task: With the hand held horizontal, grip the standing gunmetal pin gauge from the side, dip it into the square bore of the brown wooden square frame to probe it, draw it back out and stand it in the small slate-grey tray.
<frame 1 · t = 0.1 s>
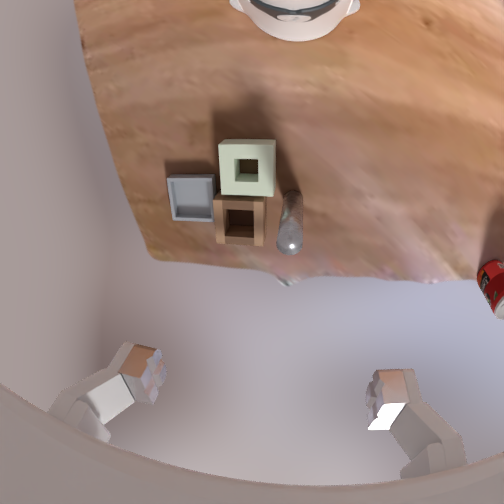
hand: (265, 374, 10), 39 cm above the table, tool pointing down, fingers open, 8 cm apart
sage block: (250, 163, 45), on the table
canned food: (489, 272, 48), on the table
tray: (194, 195, 50), on the table
brown wooden square frame: (243, 212, 50), on the table
pin gauge: (293, 199, 47), on the table
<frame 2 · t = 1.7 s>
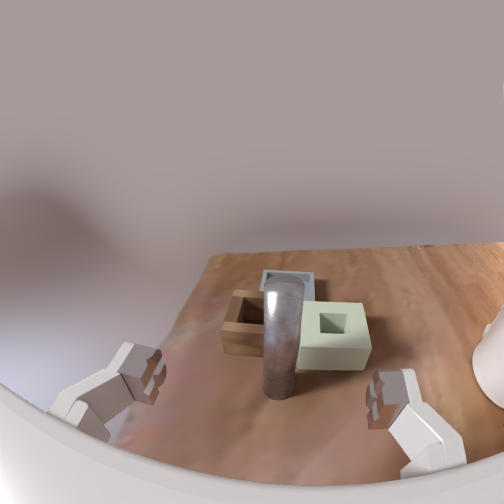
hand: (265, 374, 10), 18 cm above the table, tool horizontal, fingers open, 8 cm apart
sage block: (329, 346, 34), on the table
tray: (287, 296, 44), on the table
brown wooden square frame: (260, 333, 37), on the table
pin gauge: (277, 388, 29), on the table
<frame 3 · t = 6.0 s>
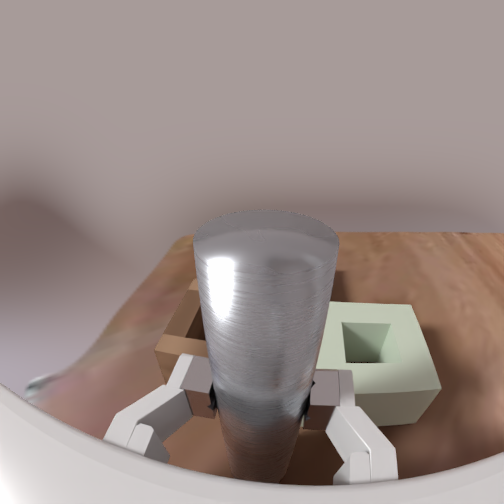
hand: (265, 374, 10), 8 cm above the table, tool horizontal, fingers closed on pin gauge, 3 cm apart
sage block: (356, 380, 18), on the table
brown wooden square frame: (235, 356, 21), on the table
pin gauge: (258, 465, 13), on the table, touching gripper
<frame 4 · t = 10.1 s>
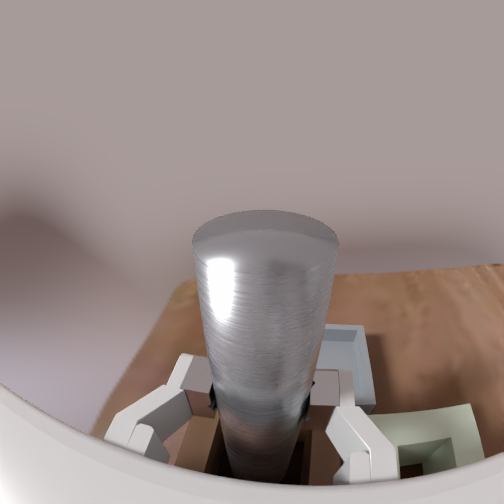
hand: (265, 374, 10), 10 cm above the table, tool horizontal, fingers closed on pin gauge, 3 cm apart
sage block: (400, 489, 11), on the table
tray: (313, 375, 21), on the table
brown wooden square frame: (260, 472, 14), on the table
pin gauge: (259, 465, 13), point 2 cm above the table, touching gripper
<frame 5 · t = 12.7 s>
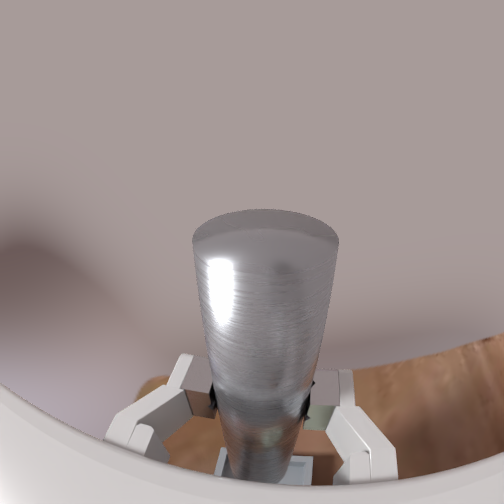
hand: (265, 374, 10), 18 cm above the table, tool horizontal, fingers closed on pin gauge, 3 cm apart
tray: (259, 497, 18), on the table
pin gauge: (259, 465, 13), point 10 cm above the table, touching gripper
when the fingers open (10 cm above the table, at t = 14.6 s): pin gauge drops 1 cm, resting on tray.
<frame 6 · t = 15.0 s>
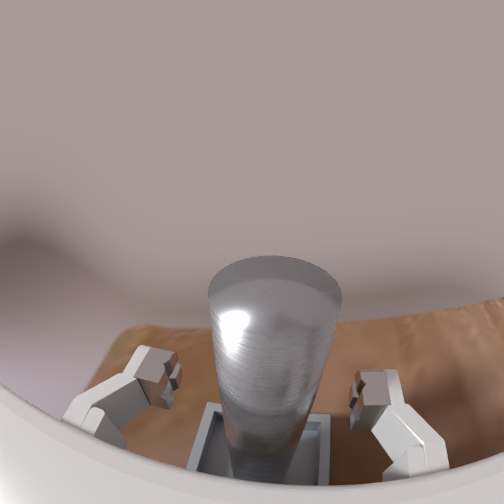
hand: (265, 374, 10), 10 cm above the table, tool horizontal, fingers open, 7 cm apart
tray: (258, 474, 14), on the table
pin gauge: (259, 471, 14), point 1 cm above the table, touching tray
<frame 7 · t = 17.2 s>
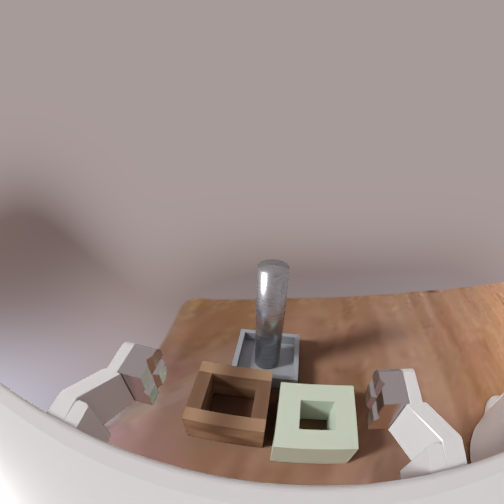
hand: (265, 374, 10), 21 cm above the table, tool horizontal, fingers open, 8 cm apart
sage block: (310, 432, 27), on the table
tray: (266, 363, 36), on the table
brown wooden square frame: (231, 413, 29), on the table
pin gauge: (266, 360, 36), point 1 cm above the table, touching tray
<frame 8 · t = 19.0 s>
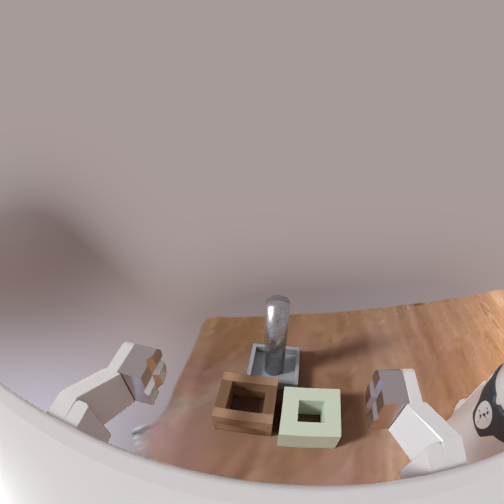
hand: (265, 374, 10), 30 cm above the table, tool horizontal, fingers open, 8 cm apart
sage block: (307, 424, 36), on the table
tray: (273, 370, 45), on the table
brown wooden square frame: (247, 410, 38), on the table
pin gauge: (274, 368, 45), point 1 cm above the table, touching tray
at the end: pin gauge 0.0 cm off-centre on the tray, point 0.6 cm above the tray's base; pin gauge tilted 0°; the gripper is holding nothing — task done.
